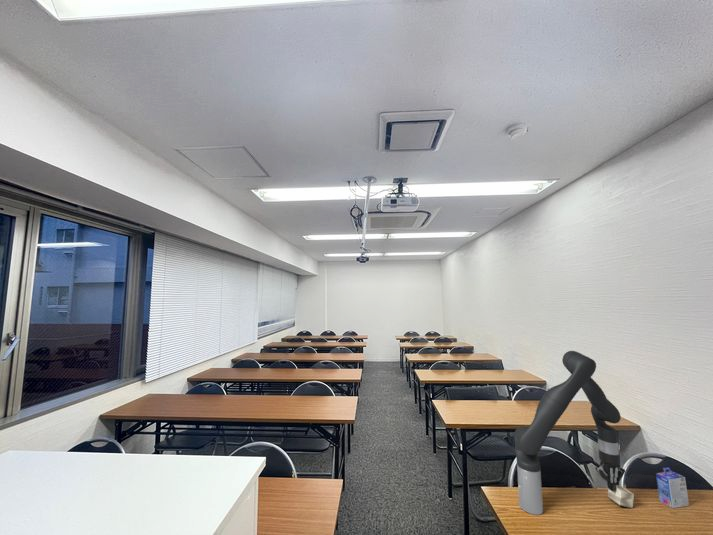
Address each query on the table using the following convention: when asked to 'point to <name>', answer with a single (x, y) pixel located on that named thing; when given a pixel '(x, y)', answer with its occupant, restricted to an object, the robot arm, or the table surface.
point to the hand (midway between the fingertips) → (612, 490)
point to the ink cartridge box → (672, 489)
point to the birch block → (621, 496)
